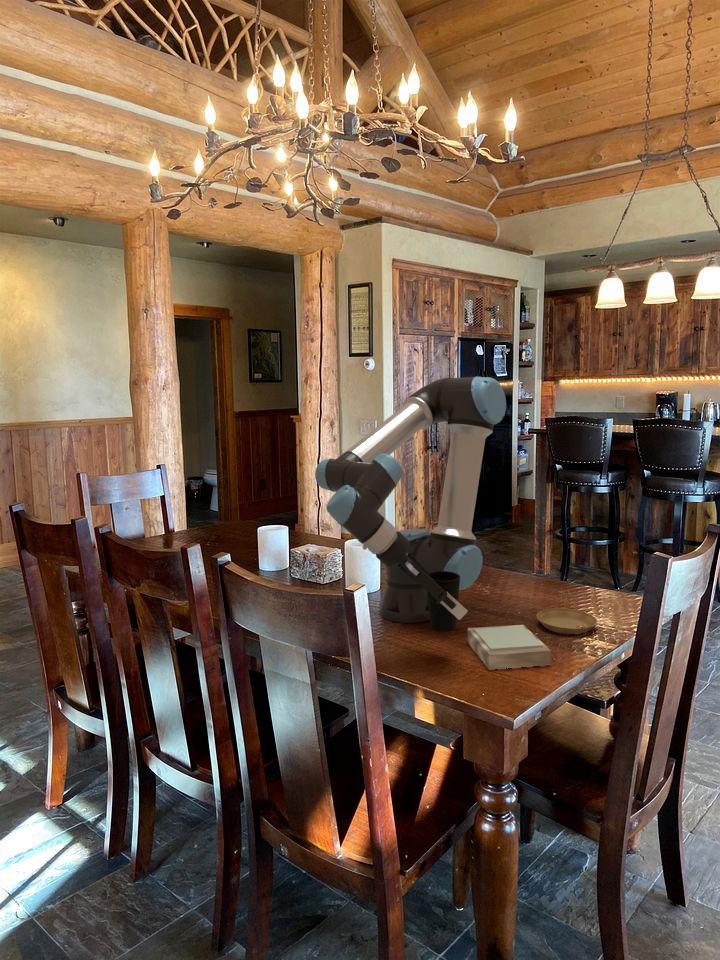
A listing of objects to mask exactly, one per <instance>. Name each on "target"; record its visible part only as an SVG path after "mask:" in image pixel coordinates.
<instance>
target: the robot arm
mask: <svg viewBox="0 0 720 960" xmlns="http://www.w3.org/2000/svg"><path fill="white" fill-rule="evenodd" d="M503 389H504V388H503V386H502V385H501V383H500V382H499V381H497V380H496V379H494V378H493V377H489V376H488V377H487V376H486V377H485V376H483V377H482V376H478V375H477V376H468V377H466V376H465V377H442V378H439V379H437V380H434V381H432V382H430V383H427V384H425V385H424V386H422V387H421V388H419V389H418V390H416V391H414V392H413V393H412V394H411V395H409V396H408V397H407V398H405V400H403V403H402V405H401V407H400V408H399V409H397V411H396V412H394V413H393V414H391V415H390V416H389V417H388V418H386V419H385V420H384V421H383V422H381V423H380V424H379V425H378V426H376V427H375V428H374V429H372V430H371V431H370V432H368V434H366V435H365V436H363V437H362V438H361V439H360V440H358V441H357V442H356V443H355V444H353V445H352V446H351V447H350V448H348V449H347V450H346V451H344V452H343V453H342V454H340V455H339V456H338V457H337V458H327V459H323V460H321V461H320V462H319V463H318V465H317V466H316V468H315V471H314V476H315V477H314V478H315V481H316V483H317V485H318V486H319V487H320V488H321V489H323V490H327V491H330V492H334V494H333V495H332V496H331V497H330V498H329V500H328V502H327V503H326V507H325V509H326V511H327V513H328V514H329V515H330V517H332V518H333V520H334V521H335V522H336V523H337V525H340V526H341V527H342V528H343V529H344V530H345V531H347V532H348V533H349V534H351V535H352V536H353V537H354V538H355V539H356V540H357V541H358V542H360V543H361V545H362V547H361V548H362V549H363V550H364V551H365V550H367V549H368V551H369V552H371V554H373V555H375V556H376V557H375V558H377V559H378V560H379V562H381V563H382V564H383V565H384V566H385V572H386V573H385V575H386V579H385V581H386V584H385V585H386V587H385V590H384V593H383V596H382V599H381V601H380V602H381V603H380V604H379V605H380V607H379V614H381V615H380V616H381V617H382V618H384V619H386V620H387V621H390V622H393V623H394V622H395V623H401V624H403V623H404V624H416V623H417V624H418V623H423V622H424V623H425V622H426V621H430V616H429V606H428V596H427V591H428V592H429V593H430V594H431V595H432V596H433V597H434V598H435V599H436V600H437V601H436V604H438V603H439V602H440V603H441V604H442V605H443V606H444V607H445V608H447V609H448V610H449V611H450V612H451V613H452V614H453V615H454V616H455V617H456V619H457V620H459V621H460V620H461V619H462V618H463V617H464V616H466V614H467V613H468V609H466V608H465V607H464V606H463V605H462V604H461V603H460V602H459V600H458V601H456V600H455V599H454V598H453V597H452V596H451V595H450V594H449V593H448V592H447V591H444V590H443V589H442V588H441V587H440V586H439V585H438V584H437V583H436V582H435V581H434V580H433V579H432V578H431V577H430V576H429V575H428V573H431V572H436V571H449V572H454V573H457V574H459V575H460V585H459V591H463V590H467V589H468V588H470V587H471V586H472V585H473V584H474V583H475V582H476V580H477V579H478V577H479V575H480V573H481V570H482V567H483V561H484V560H483V555H482V551H481V549H480V548H479V547H478V546H476V542H477V537H476V536H475V535H474V533H473V532H472V528H473V521H474V517H475V516H474V515H475V508H476V502H477V497H478V496H477V495H478V488H479V482H480V475H481V469H482V462H483V456H484V451H485V445H486V444H485V443H486V439H487V437H489V436H490V435H491V434H493V433H494V432H493V431H494V430H493V429H494V425H497V424H498V423H500V422H501V421H502V420H503V418H504V417H505V414H506V410H507V400H506V395H505V394H506V393H505V391H504V390H503ZM443 422H444V423H445V422H446V423H447V425H446V427H447V429H448V430H449V431H450V433H451V438H450V444H449V451H448V458H447V462H446V463H447V464H446V468H445V469H446V471H445V476H444V483H443V489H442V496H441V501H440V508H439V515H438V519H437V526H436V527H434V528H433V529H431V530H429V529H426V528H410V529H409V528H408V529H402V530H398V529H397V527H395V526H394V524H392V523H391V522H390V521H389V520H387V518H386V517H384V516H383V515H382V513H380V512H379V510H380V509H381V507H382V506H383V504H384V503H385V501H386V500H387V498H388V497H389V496H390V495H391V493H392V492H393V491H394V489H395V488H396V487H397V486H398V483H399V482H400V480H401V478H402V477H403V475H404V468H403V467H402V465H401V463H400V462H399V460H397V459H396V458H395V457H393V456H392V455H391V454H392V453H394V452H395V451H397V450H398V449H399V448H400V447H401V446H403V444H404V443H406V442H407V441H409V439H411V438H412V437H413V436H414V435H416V434H417V433H418V432H419V431H420V430H427V429H428V428H430V427H431V426H433V425H434V424H435V425H436V424H437V423H443Z"/></svg>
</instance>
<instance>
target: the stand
mask: <svg viewBox="0 0 720 960" xmlns="http://www.w3.org/2000/svg"><path fill="white" fill-rule="evenodd" d="M466 638H467V641H466V642H467V644H468V645H469V646H470V647H471V649H472V650H473V651H474V652H475V654H476V655H477V657H478V658H479V659H480V661H481V662H482V661H483V662H482V663H483V664H484V666H485V667H486V669H488V670H489V671H496V670H495V669H498V670H509V669H508V668H512V669H522V668H521V667H527V668H534V667H533V666H541V667H544V666H543V665H551V663H552V662H551V661H552V660H551V659H552V650H551V649H550V648H549V647H548V646H547V645H546V644H545V643H544V642H542V641H541V640H540V639H539V638H538V637H537V636H536V635H535V634H534V633H533V632H531V631H530V630H529V629H528V628H527V626H526V625H524V624H516V625H499V626H483V627H468V628H467V637H466ZM506 668H507V669H506Z"/></svg>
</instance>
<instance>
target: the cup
mask: <svg viewBox="0 0 720 960" xmlns="http://www.w3.org/2000/svg"><path fill="white" fill-rule="evenodd" d="M428 575H429V576H430V577H431V578H432V579H433V580H434V581H435V582H436V583H437V584H438V585H439V586H440V587H441V588H442V589H443V590H444V591H447V592H448V593H449V594H450V595H451V596H452V597H453V598H454V599H455V600H456V601H458V602H459V593H460V590H459V585H460V575H459V574H457V573H454V572H449V571H436V572H431V573H428ZM427 596H428V606H429V616H430V620H429V623H430V629H431V630H433V631H435V632H440V633H447V632H453V631H454V630H455V629H456V625H457V624H456V623H457V618H456V617H455V616H454V615H453V614H452V613H451V612H450V611H449V610H448V609H447V608H445V607H444V606H443V605H442V604H441V603H440V602H439V603H438V604H436V601H437V600H436V599H435V598H434V597H433V596H432V595H431V594H430V593H429V592H428V591H427Z"/></svg>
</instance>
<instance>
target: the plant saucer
mask: <svg viewBox="0 0 720 960" xmlns="http://www.w3.org/2000/svg"><path fill="white" fill-rule="evenodd" d="M536 619H537V620H538V621H539V622H540V624H541V625H542V626H543V627H545V628H546V629H547V630H548V631H551V632H553V633H557V634H562V635H570V634H575V635H582V634H581V633H583V634H585V633H587V632H588V631H590V630H591V629H593V628H594V627H595V626H596V625H597V623H598V619H597V617H595V616H594V615H592V614H591V613H588V612H585V611H583V610H578V609H571V608H562V607H561V608H560V607H558V608H556V607H554V608H547V609H542V610H540V611H539V612H537V614H536ZM584 624H585V625H587V626H588V627H585V628H581V627H580V628H576V627H578V626H581V625H582V626H583V627H584V626H585V625H584Z"/></svg>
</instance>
